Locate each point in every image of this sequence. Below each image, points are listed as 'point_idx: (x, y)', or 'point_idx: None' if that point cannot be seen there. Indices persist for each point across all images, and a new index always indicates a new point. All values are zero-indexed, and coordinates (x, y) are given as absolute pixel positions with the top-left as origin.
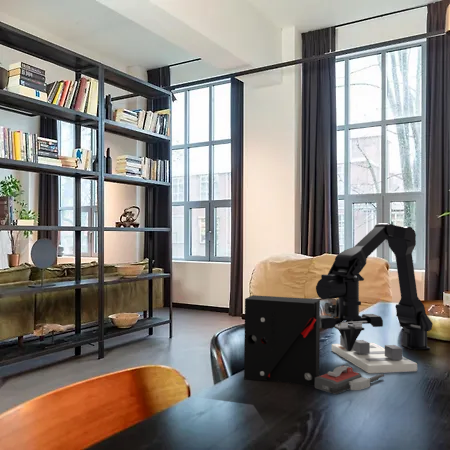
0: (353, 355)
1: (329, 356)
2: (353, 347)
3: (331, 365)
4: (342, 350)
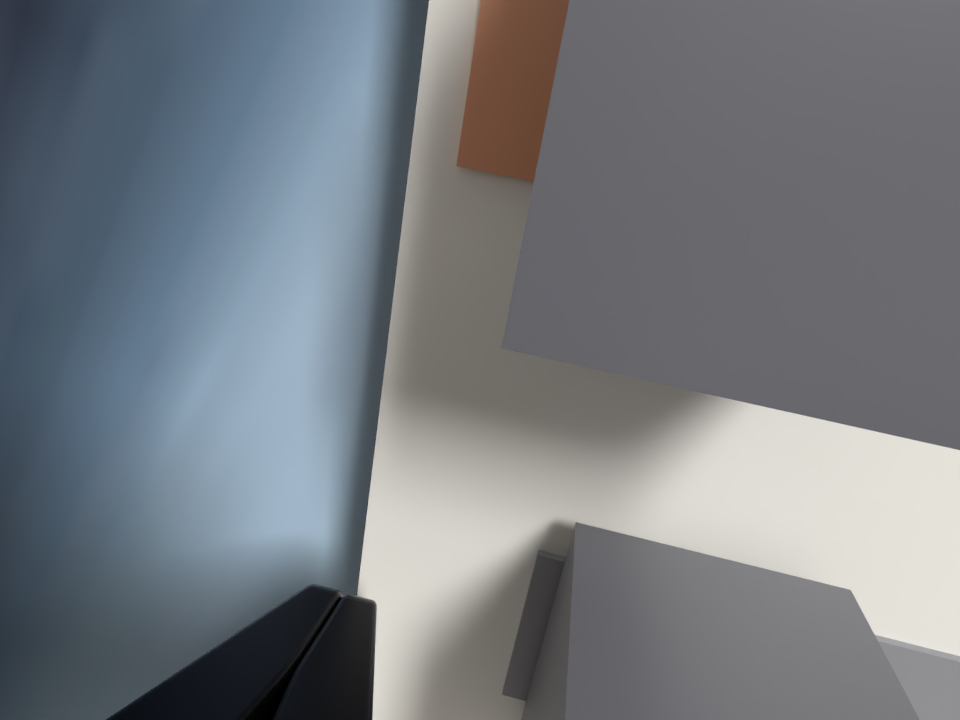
0: (388, 691)
1: (202, 107)
2: (575, 569)
3: (46, 568)
4: (395, 292)
